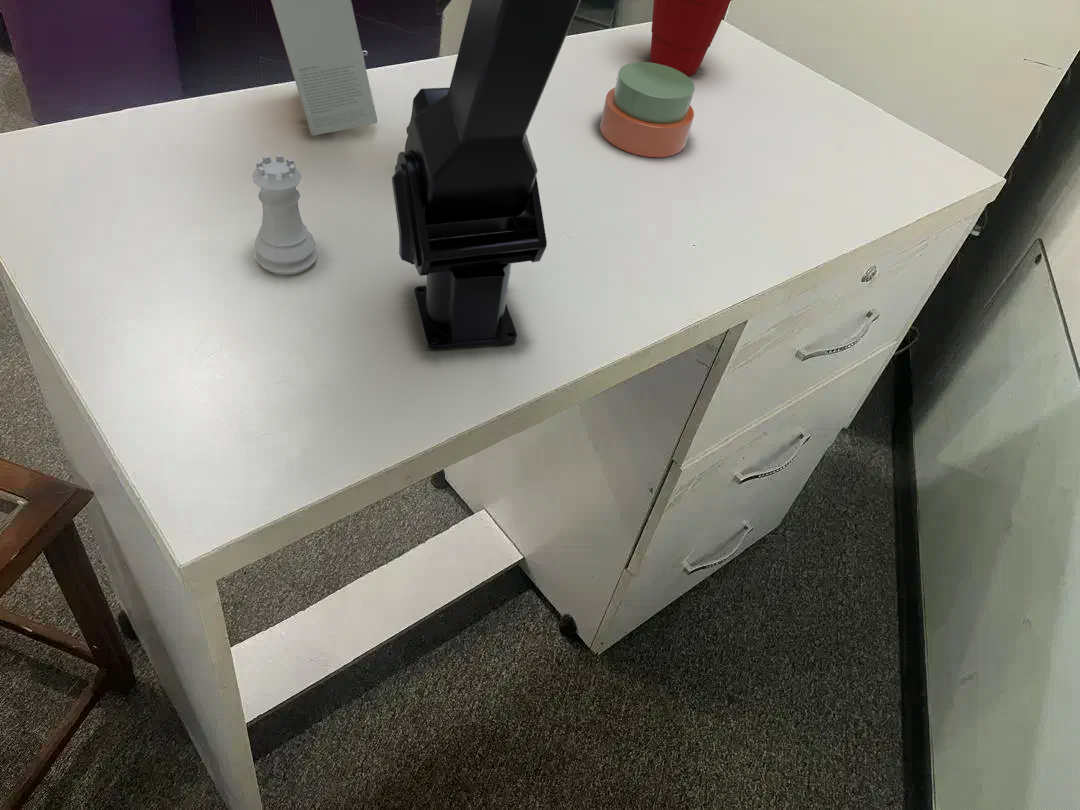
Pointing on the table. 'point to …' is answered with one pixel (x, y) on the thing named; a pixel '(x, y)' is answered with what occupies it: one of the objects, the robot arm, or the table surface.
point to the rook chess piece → (281, 219)
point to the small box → (326, 63)
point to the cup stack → (648, 110)
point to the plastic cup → (684, 31)
